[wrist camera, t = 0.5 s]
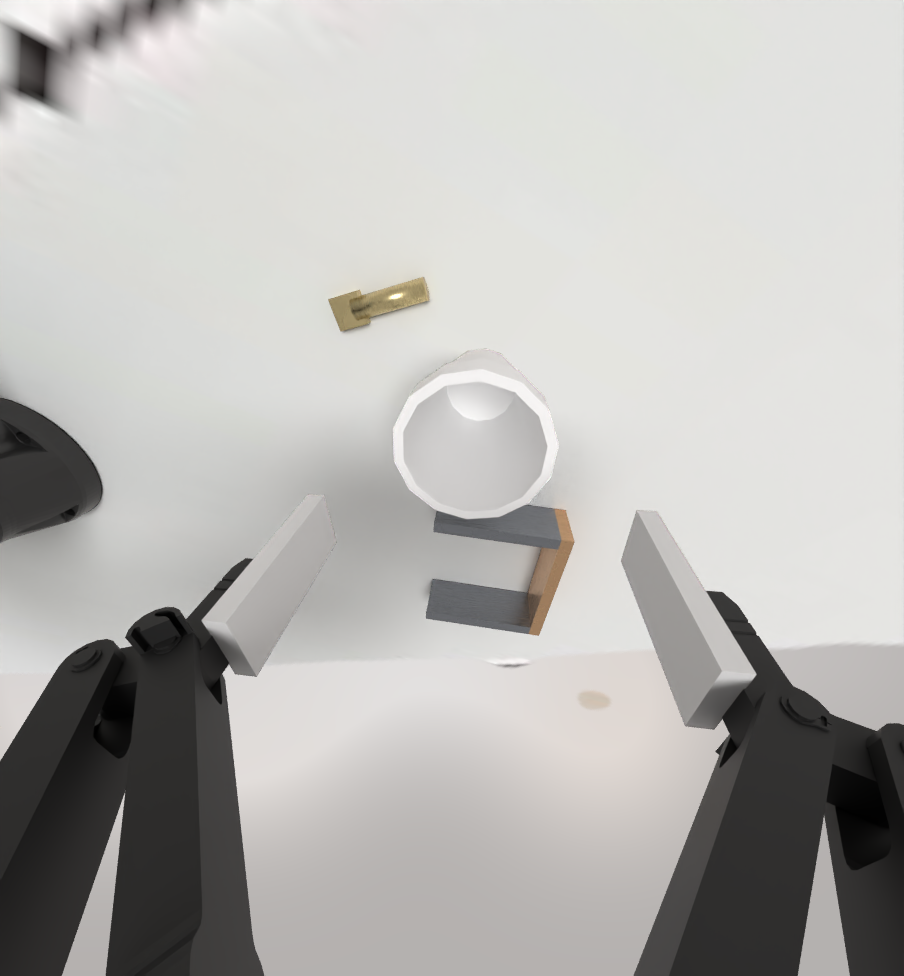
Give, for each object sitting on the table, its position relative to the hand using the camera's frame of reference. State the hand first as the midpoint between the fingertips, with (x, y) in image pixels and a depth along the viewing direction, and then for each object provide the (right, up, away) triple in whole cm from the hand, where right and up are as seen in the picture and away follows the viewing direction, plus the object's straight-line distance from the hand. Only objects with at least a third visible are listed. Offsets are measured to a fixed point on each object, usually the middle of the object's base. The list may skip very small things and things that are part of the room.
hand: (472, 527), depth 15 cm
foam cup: (+2, +11, +16) cm, 19 cm away
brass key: (-6, +17, +13) cm, 22 cm away
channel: (+3, -6, +26) cm, 27 cm away
